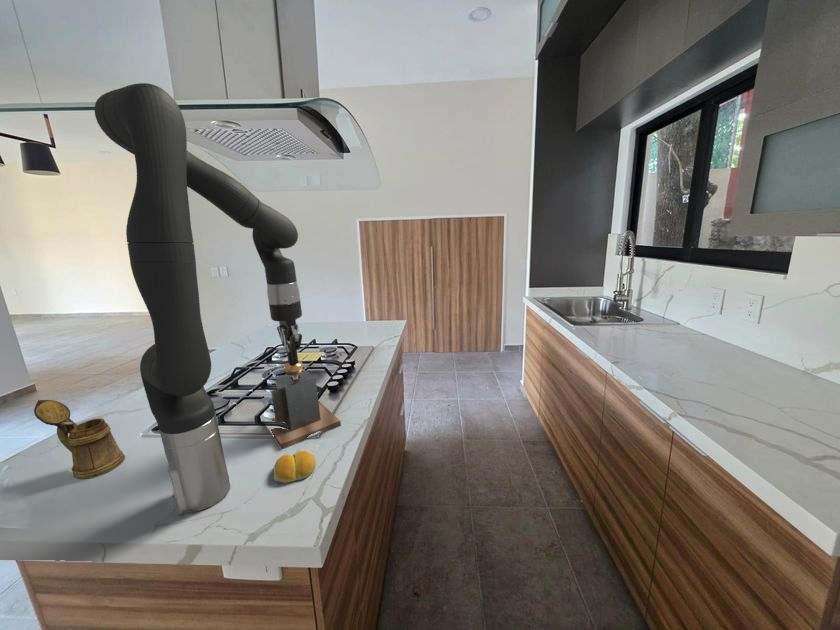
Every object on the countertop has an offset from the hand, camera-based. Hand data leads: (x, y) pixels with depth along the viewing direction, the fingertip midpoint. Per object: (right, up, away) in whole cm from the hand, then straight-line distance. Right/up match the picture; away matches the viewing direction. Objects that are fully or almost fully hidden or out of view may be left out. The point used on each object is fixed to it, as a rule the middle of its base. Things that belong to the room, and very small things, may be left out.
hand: (293, 363), depth 91 cm
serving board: (+1, -18, +4) cm, 18 cm away
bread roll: (+6, -23, -14) cm, 27 cm away
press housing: (0, -16, +3) cm, 17 cm away
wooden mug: (-44, -23, -10) cm, 51 cm away
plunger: (+1, -14, +3) cm, 14 cm away
